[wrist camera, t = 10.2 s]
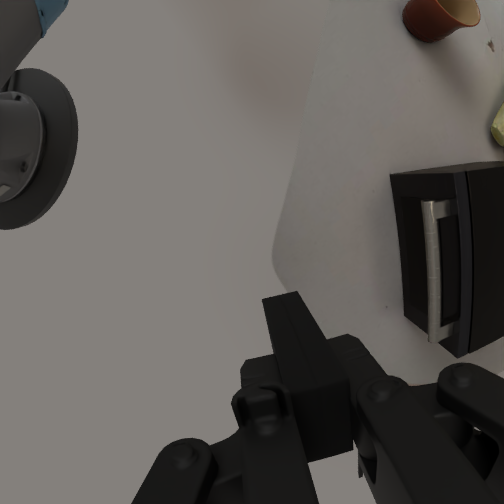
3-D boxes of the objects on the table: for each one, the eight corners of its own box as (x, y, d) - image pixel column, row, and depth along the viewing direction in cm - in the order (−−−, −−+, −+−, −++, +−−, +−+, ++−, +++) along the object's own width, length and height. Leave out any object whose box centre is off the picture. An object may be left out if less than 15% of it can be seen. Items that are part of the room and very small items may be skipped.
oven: (413, 311, 43) (469, 354, 29) (400, 172, 38) (467, 170, 25) (488, 283, 43) (545, 310, 29) (481, 161, 39) (546, 160, 25)
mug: (446, 55, 35) (486, 35, 25) (398, 40, 35) (435, 12, 25) (434, -3, 33) (466, -29, 23) (388, -19, 32) (417, -51, 22)
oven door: (386, 321, 42) (436, 368, 29) (369, 177, 38) (429, 176, 25) (413, 312, 42) (467, 353, 29) (399, 172, 38) (465, 171, 25)
